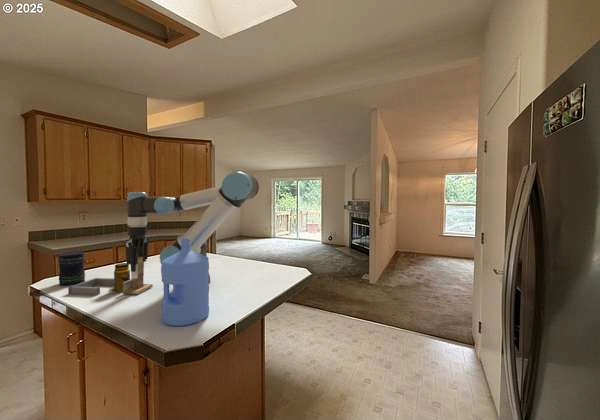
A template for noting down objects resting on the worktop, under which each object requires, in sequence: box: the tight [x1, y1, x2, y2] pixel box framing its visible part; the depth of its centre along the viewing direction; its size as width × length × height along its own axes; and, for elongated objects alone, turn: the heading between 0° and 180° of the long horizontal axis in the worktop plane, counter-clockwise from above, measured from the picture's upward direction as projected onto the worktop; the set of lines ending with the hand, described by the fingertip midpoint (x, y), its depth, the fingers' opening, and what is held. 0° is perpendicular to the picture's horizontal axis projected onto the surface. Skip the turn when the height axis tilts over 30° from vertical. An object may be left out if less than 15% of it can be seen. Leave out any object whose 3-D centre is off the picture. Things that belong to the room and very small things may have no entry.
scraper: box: [122, 256, 153, 295], centre depth 119 cm, size 7×10×15 cm
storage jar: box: [57, 250, 86, 287], centre depth 129 cm, size 10×10×15 cm
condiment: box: [107, 262, 131, 295], centre depth 119 cm, size 7×8×12 cm
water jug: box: [160, 239, 210, 327], centre depth 93 cm, size 16×16×28 cm
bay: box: [67, 277, 114, 296], centre depth 120 cm, size 14×14×3 cm
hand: (137, 277), depth 119 cm, fingers closed on scraper, 3 cm apart
